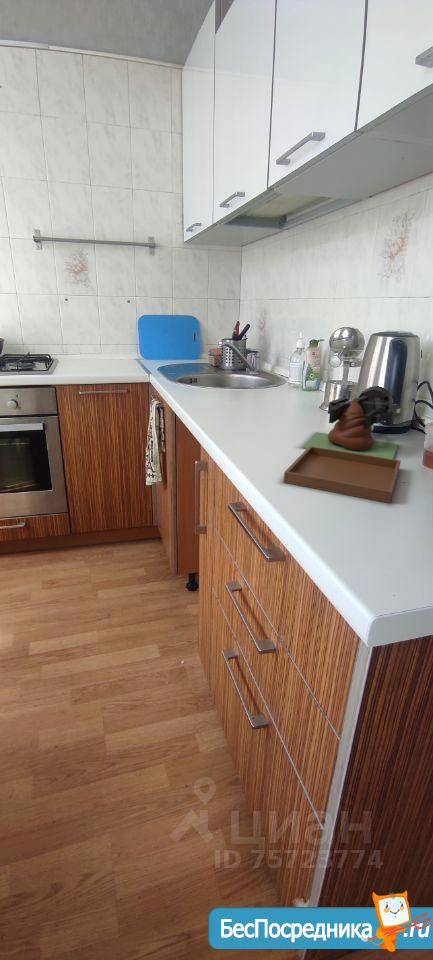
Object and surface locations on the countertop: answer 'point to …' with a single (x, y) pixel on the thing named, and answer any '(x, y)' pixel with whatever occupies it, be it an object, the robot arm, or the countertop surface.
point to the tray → (345, 473)
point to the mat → (377, 450)
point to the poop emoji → (352, 430)
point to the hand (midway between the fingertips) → (348, 419)
